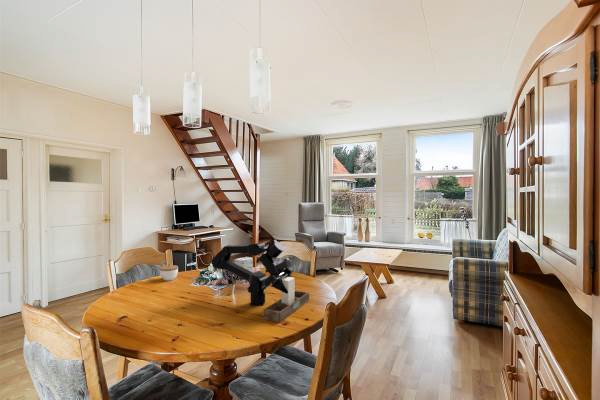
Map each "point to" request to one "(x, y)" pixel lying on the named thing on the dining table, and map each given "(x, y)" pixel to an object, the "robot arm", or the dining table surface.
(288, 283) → the white rectangular block
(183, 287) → the dining table surface
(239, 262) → the light bulb box
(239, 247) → the robot arm
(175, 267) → the white round bowl
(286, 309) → the tray
